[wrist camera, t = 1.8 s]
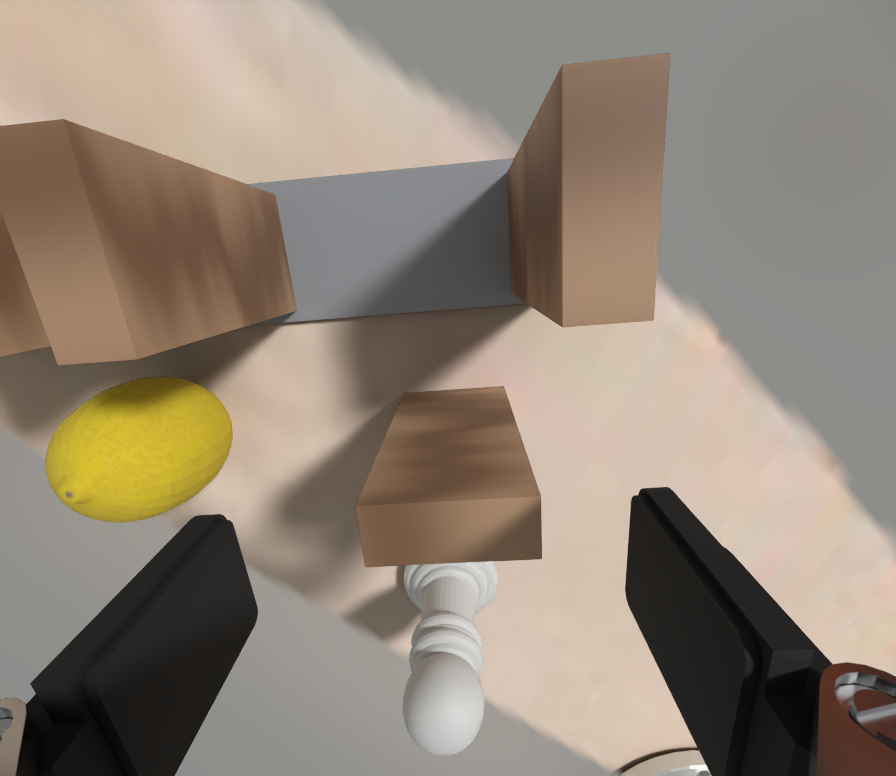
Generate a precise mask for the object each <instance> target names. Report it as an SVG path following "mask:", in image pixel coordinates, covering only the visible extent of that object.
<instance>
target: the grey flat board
mask: <svg viewBox="0 0 896 776" xmlns="http://www.w3.org/2000/svg"><path fill="white" fill-rule="evenodd" d="M513 160H514V158H511V159H501V160H491V161H480V162H470V163H460V164H450V165H439V166H429V167H419V168H409V169H399V170H388V171H378V172H368V173H358V174H347V175H337V176H327V177H317V178H307V179H296V180H286V181H276V182H266V183H256V184H247V185H250V186H253V187H256V188H259V189H262V190H264V191H267V192H270V193H273V194H275V195H276V200H277V205H278V211H279V216H280V222H281V227H282V232H283V238H284V243H285V248H286V254H287V259H288V265H289V270H290V275H291V281H292V286H293V291H294V297H295V302H296V308H297V311H294V312H291V313H288V314H284V315H281V316H278V317H275V318H271V319H268V320H265V321H262V322H258V323H255V324H252V325H259V324H272V323H284V322H297V321H310V320H322V319H335V318H348V317H360V316H373V315H386V314H398V313H411V312H424V311H436V310H449V309H462V308H474V307H487V306H500V305H512V304H525V302H524V301H522V300H521V299H519V298H518V297H516V296H514V295H513V294H511V269H510V241H509V214H508V186H507V171H508V169H509V167H510V165H511V163H512V162H513Z"/></svg>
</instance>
